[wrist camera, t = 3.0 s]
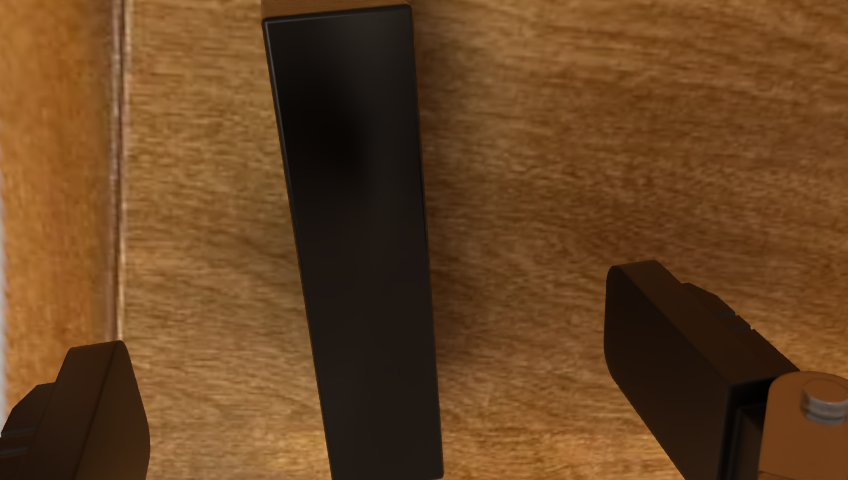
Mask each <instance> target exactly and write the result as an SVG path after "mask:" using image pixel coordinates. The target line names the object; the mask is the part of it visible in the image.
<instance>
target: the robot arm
mask: <svg viewBox="0 0 848 480" xmlns="http://www.w3.org/2000/svg"><path fill="white" fill-rule="evenodd" d="M604 354H605V359H606V363H607V366H608V369H609V372H610V374H611V376H612V378H613V379H614V381H615V382H616V384H617V385H618V387H619V388H620V389H621V391H622V392H623V394H624V395H625V396H626V398H627V399H628V401H629V402H630V403H631V405H632V406H633V408H634V409H635V410H636V412H637V413H638V414H639V416H640V417H641V419H642V420H643V421H644V423H645V424H646V426H647V427H648V428H649V430H650V431H651V433H652V434H653V435H654V437H655V438H656V440H657V441H658V442H659V444H660V445H661V447H662V448H663V449H664V451H665V452H666V454H667V455H668V456H669V458H670V459H671V461H672V462H673V463H674V465H675V466H676V467H677V469H678V470H679V472H680V473H681V474H682V476H683V477H684V479H685V480H848V379H845V378H843V377H839V376H836V375H832V374H828V373H823V372H815V371H800V370H799V369H798V368H797V367H796V366H795V365H794V364H793V363H791V362H790V361H789V360H788V359H787V358H786V357H785V356H784V355H783V354H781V353H780V352H779V351H778V350H777V349H776V348H775V347H774V346H772V345H771V344H770V343H769V342H768V341H767V340H766V339H765V338H764V337H762V336H761V335H760V334H759V333H758V332H757V331H756V330H755V329H752V330H751V328H750V325H749V324H748V323H747V322H746V321H745V320H743V319H742V318H741V317H740V316H739V315H737V316H736V315H735V312H734V311H733V310H732V309H731V308H730V307H729V306H728V305H727V304H726V303H724V302H723V301H722V300H721V299H720V298H719V297H718V296H717V295H715V294H712V293H710V292H708V291H706V290H704V289H702V288H699V287H697V286H695V285H693V284H691V283H684V284H681V283H680V282H679V281H678V280H677V279H676V278H675V277H674V276H673V275H672V274H671V273H670V272H669V271H668V270H667V269H666V268H664V267H663V266H662V265H661V264H660V263H659V262H658V261H656V260H648V261H641V262H635V263H628V264H622V265H615V266H612V267H611V268H610V269H609V271H608V274H607V280H606V301H605V323H604ZM149 458H150V435H149V427H148V422H147V418H146V414H145V410H144V407H143V403H142V399H141V396H140V392H139V389H138V385H137V382H136V378H135V374H134V371H133V367H132V364H131V360H130V356H129V353H128V350H127V348H126V346H125V344H124V342H123V341H121V340H118V341H111V342H105V343H98V344H92V345H85V346H79V347H72V348H70V349H69V351H68V353H67V355H66V357H65V360H64V362H63V365H62V367H61V369H60V372H59V374H58V377H57V379H56V381H55V382H54V383H47V384H41V385H37V386H36V387H35V388H34V389H33V390H32V391H30V392H29V393H28V394H27V395H26V396H25V397H24V398H23V399H22V400H21V401H20V402H19V403H18V404H17V405H16V406H15V407H14V408H13V409H12V411H11V413H10V415H9V417H8V419H7V421H6V423H5V425H4V428H3V430H2V432H1V437H0V480H145V479H146V474H147V469H148V464H149Z"/></svg>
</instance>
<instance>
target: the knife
mask: <svg viewBox="0 0 848 480" xmlns="http://www.w3.org/2000/svg"><path fill="white" fill-rule="evenodd" d="M261 25H262V31H263V38H264V44H265V51H266V57H267V64H268V70H269V77H270V83H271V89H272V96H273V102H274V109H275V115H276V122H277V128H278V135H279V141H280V148H281V154H282V160H283V167H284V173H285V180H286V186H287V193H288V199H289V206H290V212H291V219H292V225H293V232H294V238H295V244H296V251H297V257H298V264H299V270H300V277H301V283H302V290H303V296H304V303H305V309H306V316H307V322H308V328H309V335H310V341H311V348H312V354H313V361H314V367H315V374H316V380H317V387H318V393H319V400H320V406H321V412H322V419H323V425H324V432H325V438H326V445H327V451H328V458H329V464H330V471H331V477H332V480H436V479H441V478H443V476H444V465H443V450H442V435H441V421H440V406H439V391H438V376H437V362H436V347H435V332H434V317H433V303H432V288H431V273H430V258H429V244H428V229H427V214H426V200H425V185H424V170H423V155H422V141H421V126H420V111H419V96H418V82H417V67H416V52H415V37H414V23H413V9H412V6H411V5H410V4H409V3H408V2H407V1H406V0H261Z"/></svg>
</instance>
